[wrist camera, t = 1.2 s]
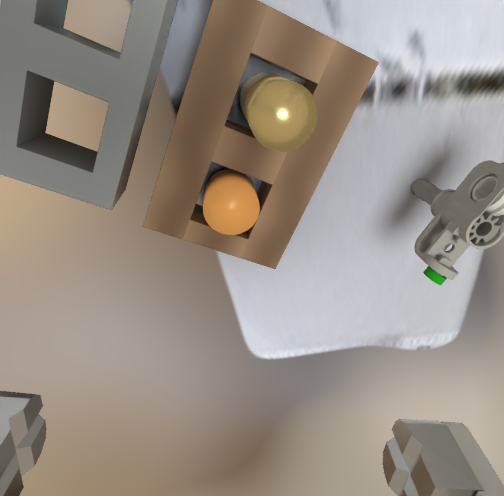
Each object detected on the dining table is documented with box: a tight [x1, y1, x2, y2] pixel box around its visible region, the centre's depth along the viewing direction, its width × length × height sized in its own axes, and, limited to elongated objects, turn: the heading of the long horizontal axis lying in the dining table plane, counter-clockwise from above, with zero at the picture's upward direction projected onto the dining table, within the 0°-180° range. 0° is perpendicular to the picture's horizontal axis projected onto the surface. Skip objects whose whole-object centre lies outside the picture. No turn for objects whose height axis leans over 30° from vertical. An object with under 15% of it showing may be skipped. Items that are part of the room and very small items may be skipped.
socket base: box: [143, 0, 379, 269], centre depth 30 cm, size 12×18×4 cm, turn 158°
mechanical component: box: [411, 161, 504, 285], centre depth 31 cm, size 3×10×10 cm, turn 151°
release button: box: [203, 169, 260, 235], centre depth 31 cm, size 4×4×4 cm
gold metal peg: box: [240, 72, 317, 152], centre depth 26 cm, size 4×4×10 cm
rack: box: [0, 0, 178, 210], centre depth 26 cm, size 9×18×5 cm, turn 158°
